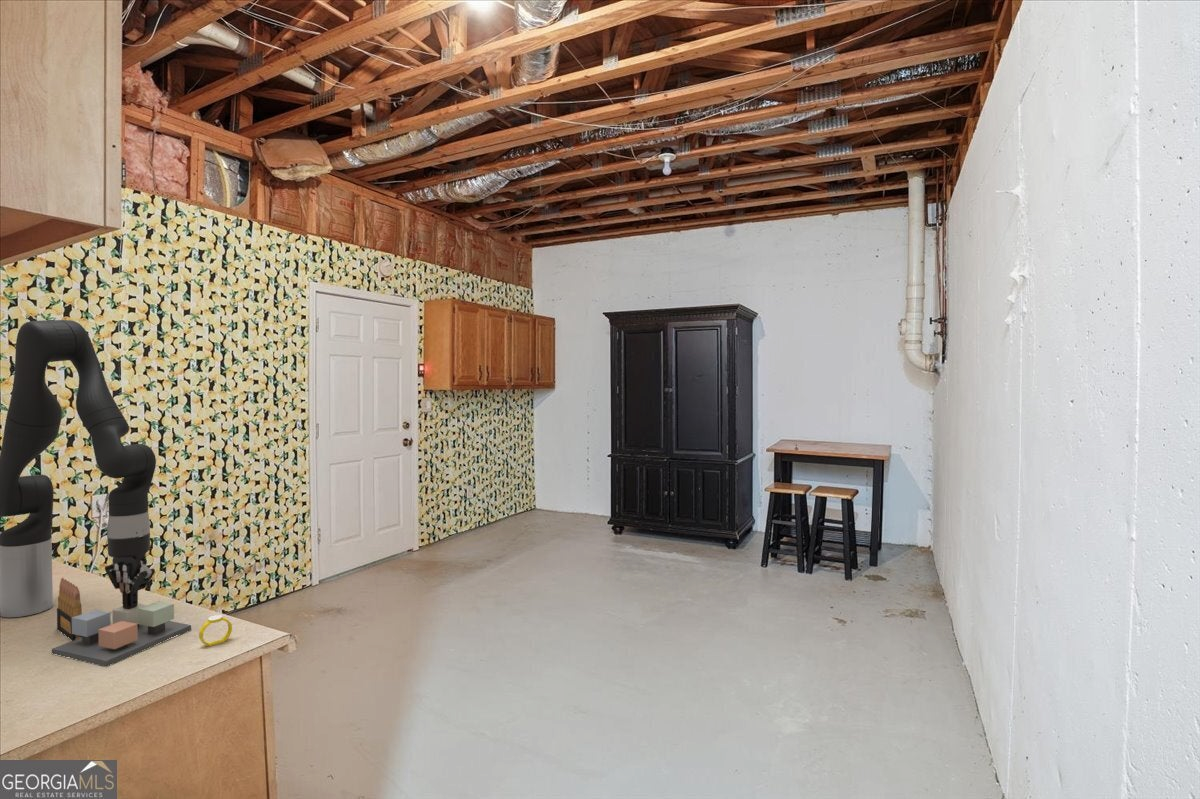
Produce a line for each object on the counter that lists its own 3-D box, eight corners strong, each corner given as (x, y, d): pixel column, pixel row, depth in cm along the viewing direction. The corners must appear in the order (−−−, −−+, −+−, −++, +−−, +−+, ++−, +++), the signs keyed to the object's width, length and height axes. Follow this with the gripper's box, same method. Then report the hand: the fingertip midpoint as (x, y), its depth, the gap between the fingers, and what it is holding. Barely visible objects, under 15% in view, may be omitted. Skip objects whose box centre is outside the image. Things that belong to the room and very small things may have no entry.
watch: (203, 651, 127) (200, 624, 127) (199, 647, 129) (196, 620, 128) (234, 639, 132) (231, 614, 131) (229, 636, 134) (227, 610, 133)
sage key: (138, 624, 131) (138, 608, 131) (159, 616, 135) (158, 601, 135) (153, 627, 130) (153, 611, 129) (174, 618, 134) (173, 603, 134)
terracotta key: (98, 645, 123) (98, 629, 123) (122, 636, 128) (121, 620, 128) (114, 649, 122) (114, 632, 122) (137, 639, 126) (137, 623, 126)
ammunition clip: (84, 638, 131) (83, 585, 130) (73, 641, 129) (72, 588, 129) (67, 626, 137) (66, 575, 136) (56, 629, 135) (55, 578, 135)
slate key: (71, 633, 126) (71, 617, 125) (95, 625, 130) (95, 609, 130) (87, 636, 124) (86, 620, 124) (110, 628, 129) (110, 612, 129)
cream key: (112, 625, 133) (112, 609, 133) (133, 617, 138) (133, 602, 138) (127, 628, 132) (127, 612, 132) (148, 619, 136) (148, 605, 136)
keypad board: (51, 654, 124) (51, 636, 124) (140, 620, 141) (140, 604, 141) (106, 666, 119) (106, 647, 119) (191, 630, 136) (191, 613, 136)
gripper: (90, 534, 132) (91, 610, 133) (133, 539, 128) (134, 618, 129) (125, 526, 139) (126, 598, 140) (167, 531, 135) (168, 605, 136)
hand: (130, 607), depth 135 cm, fingers closed
